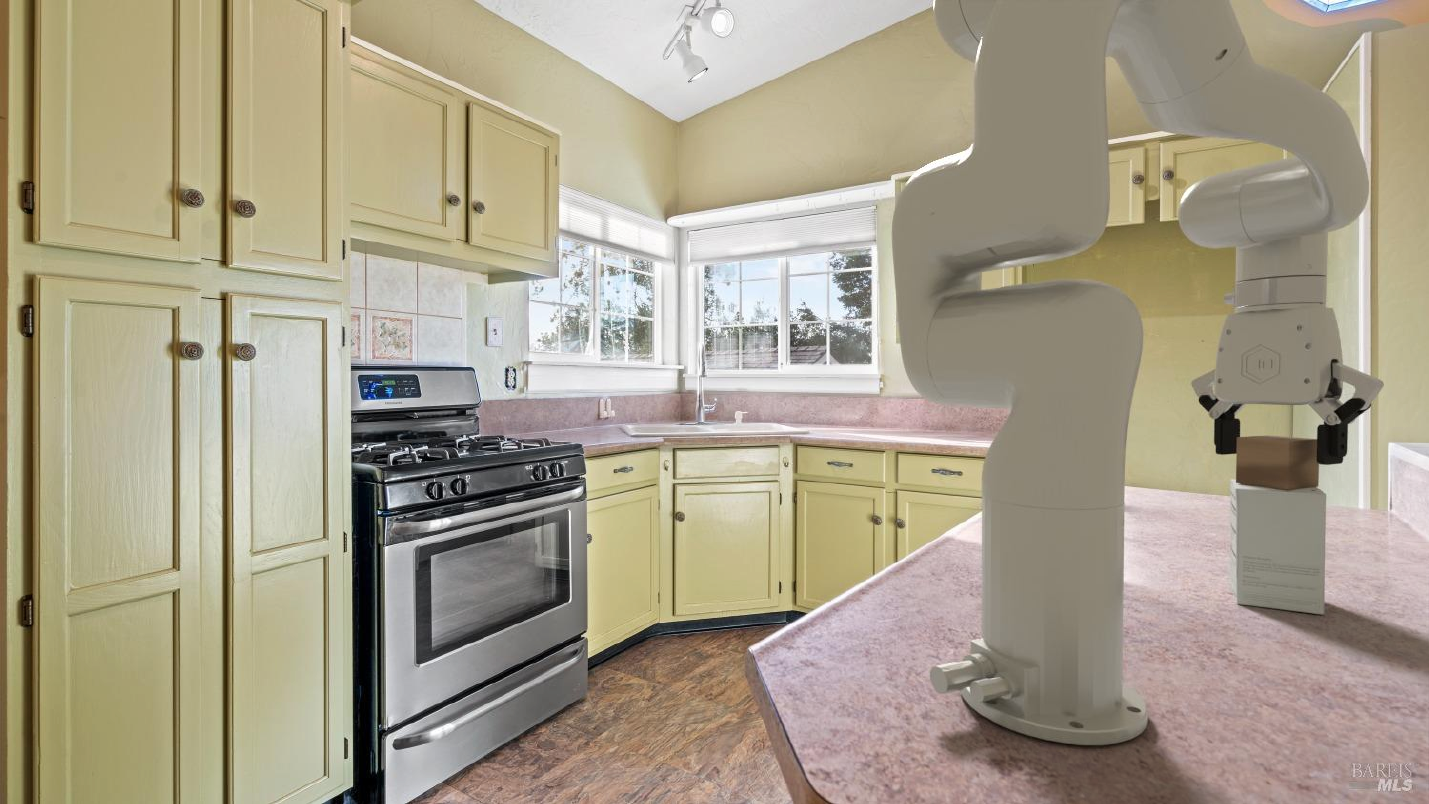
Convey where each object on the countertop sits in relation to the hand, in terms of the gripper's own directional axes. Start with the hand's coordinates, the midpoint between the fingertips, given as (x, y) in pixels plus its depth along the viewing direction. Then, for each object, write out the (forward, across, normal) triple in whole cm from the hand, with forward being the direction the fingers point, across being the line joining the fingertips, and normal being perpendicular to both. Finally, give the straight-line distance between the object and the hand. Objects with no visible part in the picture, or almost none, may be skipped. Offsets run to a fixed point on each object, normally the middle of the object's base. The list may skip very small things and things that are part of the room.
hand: (1275, 458), depth 73 cm
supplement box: (+16, 0, 0) cm, 16 cm away
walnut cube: (+3, 0, 0) cm, 3 cm away
